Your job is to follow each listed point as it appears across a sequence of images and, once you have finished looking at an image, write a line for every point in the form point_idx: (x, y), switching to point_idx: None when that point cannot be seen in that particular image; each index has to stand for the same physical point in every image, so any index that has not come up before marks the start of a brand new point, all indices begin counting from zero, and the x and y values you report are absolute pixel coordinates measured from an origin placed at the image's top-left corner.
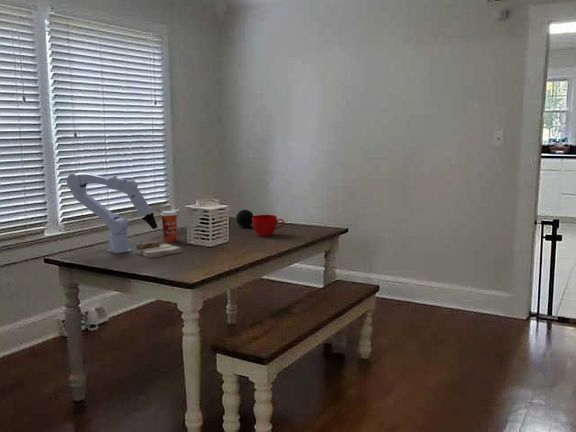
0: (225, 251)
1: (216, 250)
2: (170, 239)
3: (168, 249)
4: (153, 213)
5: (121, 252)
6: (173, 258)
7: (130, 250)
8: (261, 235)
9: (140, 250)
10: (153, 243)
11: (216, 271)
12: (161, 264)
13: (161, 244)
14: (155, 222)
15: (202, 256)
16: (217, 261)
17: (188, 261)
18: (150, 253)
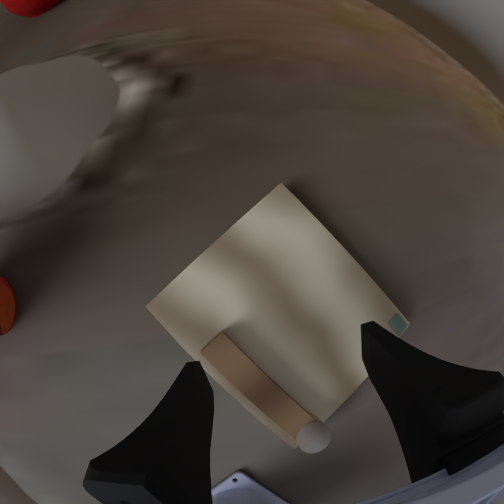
0: (266, 36)
1: (245, 58)
2: (8, 299)
3: (321, 250)
4: (95, 467)
5: (282, 499)
6: (402, 213)
7: (247, 476)
8: (55, 3)
9: (336, 409)
10: (254, 365)
11: (487, 96)
12: (477, 246)
13: (168, 327)
14: (403, 341)
15: (357, 102)
16: (411, 72)
17: (433, 152)
18: (406, 328)
